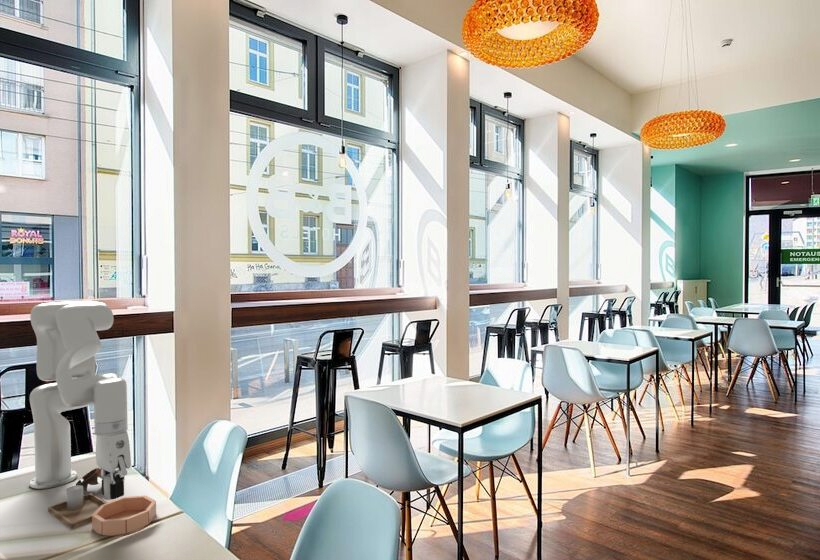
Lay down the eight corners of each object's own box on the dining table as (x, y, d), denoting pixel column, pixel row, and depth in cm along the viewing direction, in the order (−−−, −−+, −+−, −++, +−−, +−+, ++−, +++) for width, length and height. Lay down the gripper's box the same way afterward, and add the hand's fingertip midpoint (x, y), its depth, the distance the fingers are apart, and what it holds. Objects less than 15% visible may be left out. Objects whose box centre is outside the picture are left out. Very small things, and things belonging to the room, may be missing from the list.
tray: (48, 513, 142) (48, 507, 142) (91, 498, 151) (91, 492, 151) (71, 531, 132) (71, 524, 132) (116, 514, 141) (116, 507, 141)
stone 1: (64, 508, 144) (64, 489, 144) (80, 502, 147) (79, 484, 147) (70, 512, 142) (69, 492, 141) (86, 506, 145) (85, 487, 145)
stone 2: (117, 491, 136) (116, 471, 136) (124, 495, 134) (123, 475, 134) (101, 497, 133) (100, 476, 133) (108, 501, 130) (107, 480, 130)
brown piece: (106, 500, 151) (89, 479, 149) (82, 512, 152) (65, 491, 151) (129, 474, 162) (114, 454, 160) (106, 485, 164) (91, 466, 162)
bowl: (85, 526, 135) (84, 510, 135) (139, 506, 146) (138, 491, 146) (109, 543, 126) (108, 526, 126) (164, 520, 138) (164, 505, 138)
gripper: (141, 427, 131) (143, 497, 131) (111, 417, 141) (113, 482, 141) (110, 435, 125) (112, 509, 125) (81, 424, 135) (83, 492, 135)
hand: (113, 494), depth 133 cm, fingers closed on stone 2, 4 cm apart
